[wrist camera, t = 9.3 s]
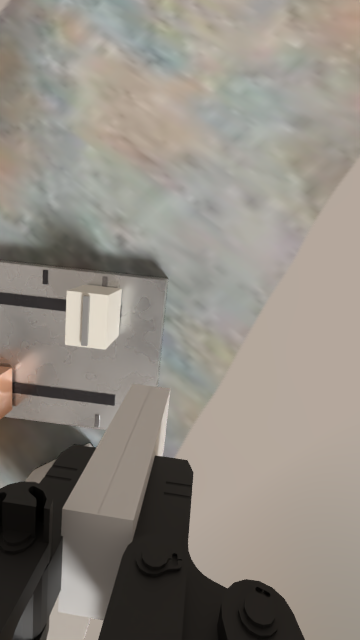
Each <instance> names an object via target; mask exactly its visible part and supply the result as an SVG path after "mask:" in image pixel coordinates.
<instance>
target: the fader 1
mask: <svg viewBox="0 0 360 640" xmlns="http://www.w3.org/2000/svg"><path fill="white" fill-rule="evenodd" d="M11 410H12V367H3V366H0V419H2V418H3V417H4V416H5V415H6V414H8V413H9V412H10V411H11Z"/></svg>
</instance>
